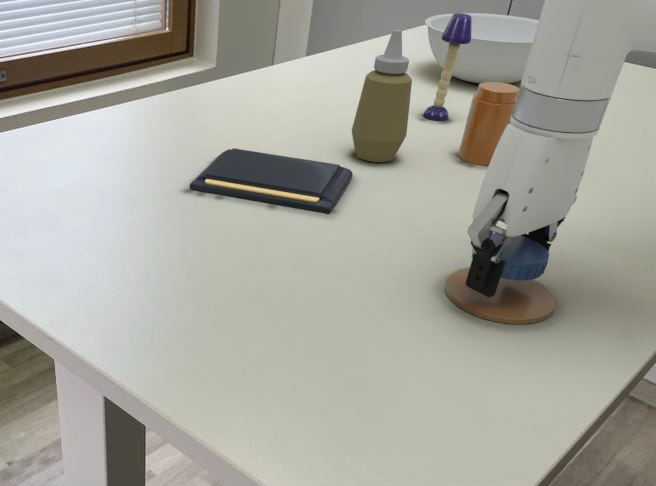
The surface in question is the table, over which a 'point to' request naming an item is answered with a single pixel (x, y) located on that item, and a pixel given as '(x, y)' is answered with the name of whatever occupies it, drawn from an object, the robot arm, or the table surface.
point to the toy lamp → (450, 61)
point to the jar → (487, 121)
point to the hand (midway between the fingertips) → (502, 280)
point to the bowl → (486, 47)
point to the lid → (522, 258)
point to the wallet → (275, 179)
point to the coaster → (502, 300)
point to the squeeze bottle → (383, 105)
